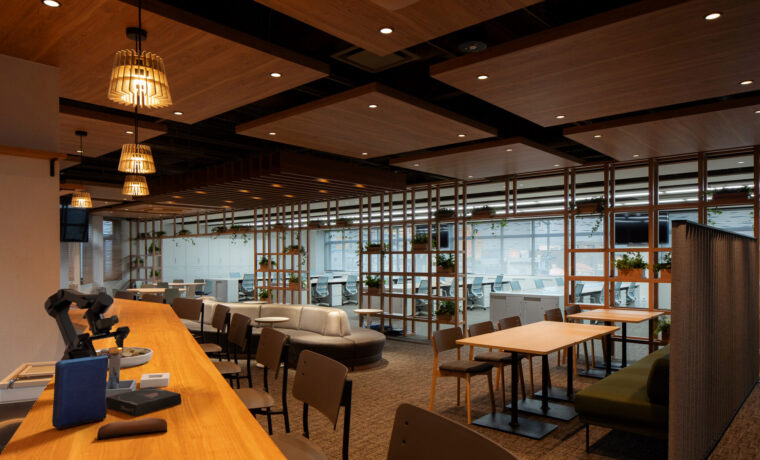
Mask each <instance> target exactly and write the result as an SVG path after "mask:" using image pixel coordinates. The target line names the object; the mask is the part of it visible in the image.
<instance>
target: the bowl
mask: <svg viewBox="0 0 760 460" xmlns="http://www.w3.org/2000/svg"><path fill="white" fill-rule="evenodd" d="M109 348H110V347H108V348H107V347H106V348H100V349H99V348H98V349H95V351H96V353H97V356H98V355H102V354H104V355H106V356H108V368H107V370H109V360H110V354H109ZM153 354H154V351H153V349H151V348H147V347H141V346H140V347H139V346H137V347H136V346H123V353H121V362H120V369H123V368H132V367H136V366H139V365H143V364H146V363H147V362H149V360H151V359H152V358H153ZM90 357H93V356H92V355H90Z"/></svg>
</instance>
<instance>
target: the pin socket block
mask: <svg viewBox="0 0 760 460" xmlns="http://www.w3.org/2000/svg"><path fill="white" fill-rule="evenodd" d="M170 376H171V373H170V372H160V373H158V372H156V373H142V375H141V378H140V381H139V388H140V389H143V388H147V387H154V388H158V387H168V386H169V385H170V379H171V377H170Z"/></svg>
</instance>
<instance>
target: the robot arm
mask: <svg viewBox="0 0 760 460" xmlns="http://www.w3.org/2000/svg"><path fill="white" fill-rule="evenodd" d="M114 301H115V300H114V298H113V297H112V296H111V295H110V294H108V293H106V292H105V291H101V292H100V291H99V293H84V292H81V291H77V290H74V288H60V289H58V290H57V292H56V293H53V294H52V295H50V296H49V297H48V298H47V299H46V300H45V302H44V305H43V307H44V310H45V311H46V313H47V315H48V316H49V317H51V318H53V319H54V320H55V322H56V324H57V328H58V330H59V332H60V335H61V337H62V339H63V342H64V344H65V348H64V351H63V356H62V357H61V359H60V360H59V361H62V360H72V359H79V358H86V357H90V355H92V356H93V357H94V356H97V353H96V351H95V350H96V349H95V346H94V343H93V341H99V340H103V339H109V338H114V340H115V344H116V347H122V348H123V347H124V340H125V339H127V338H128V336H129V334H130V332H131V329H130V327H129V326H127V325H124V326H119V327H117V328H116V329H115V330H114V331H112V329H113V326H115V325H117V324H118V323H119V322H120V320H119V316H118V315H117V314H115V315H114V314H113V315H111V316H110V317H105V316H104V315H105V314H106V313H107V312H108V311H109V309H110V308H111V307H112V306H113V304H114ZM73 303H74V304H75V306H76V307H77V308H78V309H80V310H86V311H84V314H83V316H82V319H83V320H86V321H87V324H88V327H89V328H88V331H89V332H82V333H77V331H76V329H75V327H74V324H73V321H72V319H71V317H70V314H69V311H70V309H71V305H72V304H73ZM110 331H111V332H110ZM90 332H91V334H92V335H91V334H90ZM122 353H123V349H122Z"/></svg>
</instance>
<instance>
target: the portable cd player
mask: <svg viewBox="0 0 760 460" xmlns="http://www.w3.org/2000/svg"><path fill="white" fill-rule="evenodd" d="M182 401H183V400H182V395H181V393H178V392H175V391H170V390H166V389H162V388H158V387H146V388H140V389H136V390H134V391H130V392H126V393H121V394H117V395H113V396H109V397H106V403H107V410H108V409H109V410H112V411H114V412H118V413H122V414H124V415H128V416H131V417H134V418H136V417H139V416H143V415H146V414H150V413H153V412H157V411H160V410H164V409H168V408H171V407H172V408H173V407H174V406H179V405H181V404H182Z"/></svg>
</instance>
